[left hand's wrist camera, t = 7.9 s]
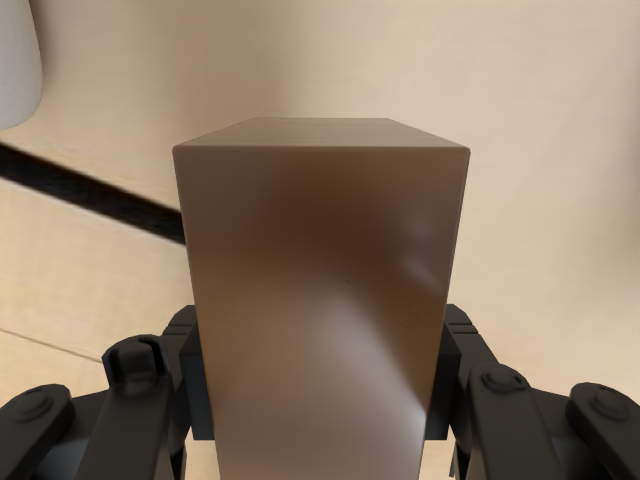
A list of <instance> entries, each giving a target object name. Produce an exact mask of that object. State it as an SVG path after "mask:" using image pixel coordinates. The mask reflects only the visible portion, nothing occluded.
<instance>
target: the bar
mask: <svg viewBox="0 0 640 480" xmlns="http://www.w3.org/2000/svg"><path fill="white" fill-rule="evenodd" d="M172 152H173V159H174V166H175V173H176V179H177V186H178V193H179V200H180V207H181V213H182V220H183V227H184V234H185V241H186V247H187V254H188V261H189V268H190V274H191V281H192V288H193V295H194V302H195V308H196V315H197V322H198V329H199V336H200V342H201V349H202V356H203V363H204V369H205V376H206V383H207V390H208V397H209V403H210V410H211V417H212V424H213V431H214V437H215V444H216V451H217V458H218V464H219V471H220V478H221V480H418V479H419V473H420V466H421V460H422V454H423V447H424V441H425V435H426V429H427V422H428V416H429V410H430V404H431V397H432V391H433V385H434V378H435V372H436V366H437V360H438V353H439V347H440V341H441V335H442V328H443V322H444V316H445V309H446V303H447V297H448V291H449V284H450V278H451V272H452V266H453V259H454V253H455V247H456V240H457V234H458V228H459V222H460V215H461V209H462V203H463V197H464V190H465V184H466V178H467V171H468V165H469V159H470V153H471V152H470V148H468V147H466V146H463V145H460V144H457V143H455V142H452V141H449V140H446V139H443V138H441V137H438V136H435V135H432V134H430V133H427V132H424V131H421V130H419V129H416V128H413V127H410V126H408V125H405V124H402V123H399V122H396V121H394V120H391V119H388V118H253V119H250V120H247V121H245V122H242V123H239V124H236V125H233V126H230V127H227V128H224V129H222V130H219V131H216V132H213V133H210V134H207V135H204V136H202V137H199V138H196V139H193V140H190V141H187V142H184V143H182V144H179V145H176V146H174V147H173V150H172Z"/></svg>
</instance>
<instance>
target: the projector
mask: <svg viewBox="0 0 640 480" xmlns="http://www.w3.org/2000/svg"><path fill="white" fill-rule="evenodd" d="M42 88H43V73H42V62H41V56H40V51H39V45H38V40H37V35H36V31H35V26H34V21H33V17H32V13H31V9H30V5H29V0H0V130H4V129H8V128H11V127H14V126H17V125H19V124H21V123H23V122H25V121H26V120H28V119H29V118H30V117H31V116H32V115H33V114H34V113H35V111H36V109H37V108H38V106H39V103H40V100H41V95H42Z"/></svg>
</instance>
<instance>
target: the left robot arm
mask: <svg viewBox="0 0 640 480" xmlns="http://www.w3.org/2000/svg"><path fill="white" fill-rule="evenodd" d="M101 358H102V361H103V365H104V369H105V372H106V376H107V379H108V383H109V386H110V387H109V389H107V390H104V391H101V392H97V393H92V394H88V395H84V396H79V397H75V398H72V397H71V394H70V391H69V389H68V388H66V387H65V386H64V385H59V384H48V385H41V386H38V387H35V388H32V389H30V390H27V391H25V392H23V393H21V394H20V395H18V396H16V397H14V398H13V399H11V400H10V401H9V402H8V403H6V404H5V405H4V406H3V407H1V408H0V480H185V469H186V459H187V453H186V447H185V439H186V436H187V434H188V431H189V429H190V426H191V428H192V433H193V439H194V440H215V437H214V431H213V424H212V417H211V410H210V403H209V397H208V390H207V383H206V376H205V369H204V363H203V356H202V349H201V342H200V336H199V329H198V322H197V315H196V308H195V305H187V306H185V307H184V308H183V309H181V310H180V311H179V312H177V313H176V314H175V315H174V316H173V318H172V319H171V321H170V322H169V324H168V326H167V327H166V328H165V330H164V331H163V333H162V335H161V336H156V335H152V334H146V335H137V336H133V337H129V338H126V339H124V340H122V341H119V342H117V343H116V344H114V345H113V346H111V347H110V348H109V349H107V351H106V352H105V353H104V354H103V356H102V357H101ZM449 424H450V426H451V429H452V431H453V434H454V436H455V439H456V441H455V447H454V452H453V457H452V462H451V467H450V473H449V477H453V478H454V474H455V479H456V480H640V406H639V405H638V404H637V403H635V402H634V401H633V400H632V399H630V398H629V397H628V396H626V395H624V394H622V393H620V392H619V391H617V390H615V389H613V388H610V387H607V386H604V385H601V384H596V383H589V382H585V383H579V384H576V385H575V386H574V387H573V388H572V389H571V392H570V395H569V397H567V396H563V395H559V394H554V393H550V392H546V391H541V390H538V389H535V388H531V386H530V385H529V383H528V382H527V380H526V379H525V377H523V376H522V375H521V374H520V373H518V372H517V371H516V370H514V369H512V368H510V367H508V366H506V365H503V364H499V362H498V361H497V359H496V358H495V356H494V355H493V353H492V352H491V350H490V349H489V347H488V346H487V344H486V343H485V341H484V340H483V338H482V337H481V335H480V334H478V331H477V329H476V328H475V326H474V325H472V322H471V320H470V319H469V317H468V316H467V314H466V313H465V312H464V311H462V310H461V309H459V308H458V307H457V306H455V305H454V304H446V309H445V316H444V322H443V328H442V335H441V341H440V347H439V353H438V360H437V366H436V372H435V378H434V385H433V391H432V397H431V404H430V410H429V416H428V422H427V429H426V435H425V440H447V435H448V429H449Z"/></svg>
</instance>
